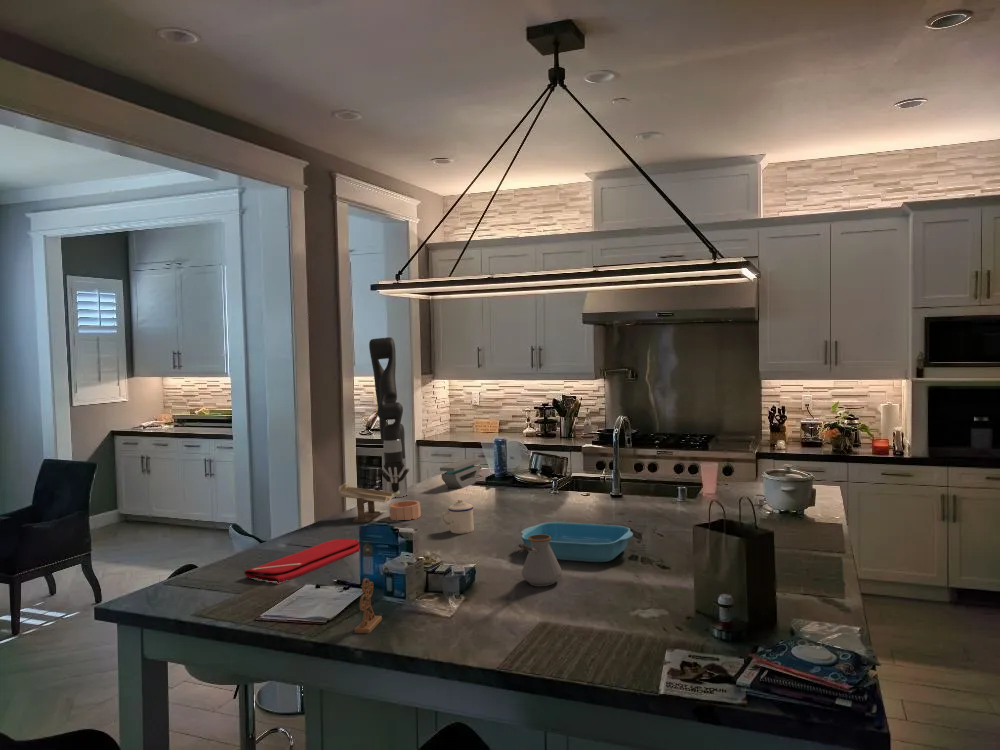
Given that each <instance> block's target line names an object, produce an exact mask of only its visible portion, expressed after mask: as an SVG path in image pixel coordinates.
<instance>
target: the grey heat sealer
mask: <svg viewBox="0 0 1000 750" xmlns="http://www.w3.org/2000/svg"><path fill="white" fill-rule="evenodd" d="M480 462H481V458H470V457H469V458H464V459H461V460H457V461H454V462H452V463H449V464H446V465H443V466H440V467H439V471H440V472H444V473H441V480H442V481H443V482H444V484H445V485H446V486H447V487H448V488H449V489H450V488H452V489H453V488H454V489H465V488H467V487H469V486H471V485H473V484H476V481H477V479H478V476H479V473H480V466H479V465H475V464H479V463H480Z"/></svg>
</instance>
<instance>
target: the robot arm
mask: <svg viewBox="0 0 1000 750" xmlns="http://www.w3.org/2000/svg"><path fill="white" fill-rule="evenodd" d="M368 347H369V353H370V360H371V366H372V370H373V378H374V391H375V396H376V397H375V398H376V402H377V412H376V413H377V417H378V420H379V435H380V441H381V444H383V457H384V459H383V460H384V465H383V467H382V469H380V470H379V473H380V475H381V476H382V477H383V478H384V480H385V481H386V485H387V486H386V487H387V492H398V490H400V494H398V495H397V496H395V497H396V498H402V497H403V496H404V497H407V496H408V495H409V487H408V473H410V468H407V463H406V462H407V461H406V457H407V456H406V447H405V443H406V442H405V439H406V438H405V428H404V425H403V423H401V421H402V418H403V412H404V407H403V405H402V404H401V403H400V402H399V401H398V402H397V399H398V393H397V384H396V383H397V382H396V370H397V368H396V365H397V363H396V357H397V355H396V344H395V340H394V339H393V337H379V338H372V339H370V340H369V344H368ZM385 359H388V361H387V365H386V367H385V368H383V366H382V365H381V362H380V361H379V360H385ZM391 420H394V421H393V423H390V424H388V421H391ZM406 495H407V496H406ZM395 497H393V498H392V499H394V498H395Z"/></svg>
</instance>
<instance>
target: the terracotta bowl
mask: <svg viewBox="0 0 1000 750" xmlns="http://www.w3.org/2000/svg"><path fill="white" fill-rule="evenodd" d="M388 507H389V518H390V520H391V519H392V520H391V521H393V520H410V521H412V520H411V519H415V520H417V518H418V519H420V518H419V517H421V516H422V515H421V514H422V513H421V512H422V511H421V502H419V500H401V501H395V502H392V503H391V504H388Z"/></svg>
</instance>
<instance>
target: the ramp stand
mask: <svg viewBox="0 0 1000 750" xmlns="http://www.w3.org/2000/svg"><path fill="white" fill-rule="evenodd" d="M356 507H357V508H356V509H357V517H355V518H353V519H352V523H369V522H370V521H371V520H373V519H375V518H376V517H377V516H380V514H381V510H380V511H378V510H377V511H376V506H375V501H369V500H367V511H365V500H364V498H363V497H362V498H357V499H356Z"/></svg>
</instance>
